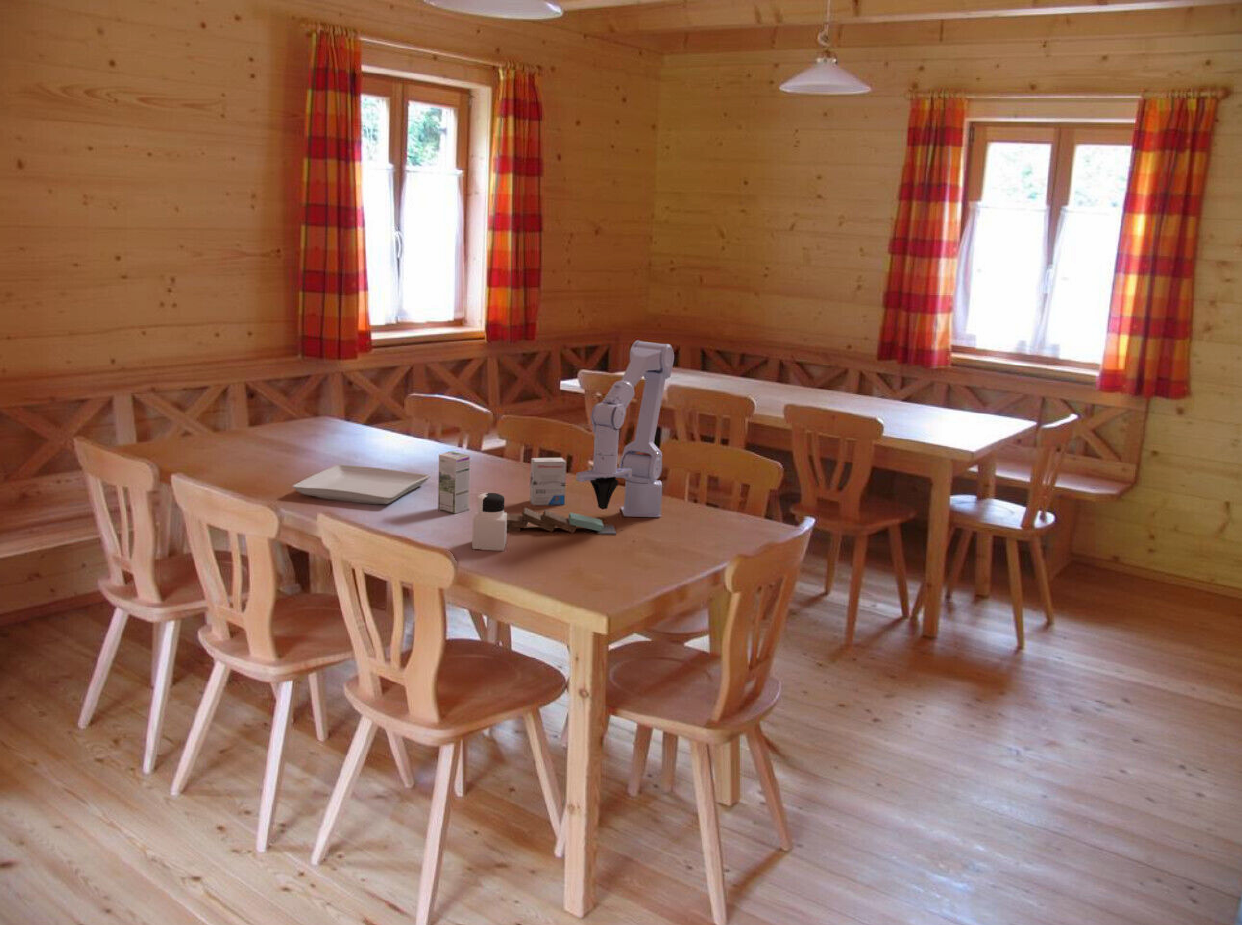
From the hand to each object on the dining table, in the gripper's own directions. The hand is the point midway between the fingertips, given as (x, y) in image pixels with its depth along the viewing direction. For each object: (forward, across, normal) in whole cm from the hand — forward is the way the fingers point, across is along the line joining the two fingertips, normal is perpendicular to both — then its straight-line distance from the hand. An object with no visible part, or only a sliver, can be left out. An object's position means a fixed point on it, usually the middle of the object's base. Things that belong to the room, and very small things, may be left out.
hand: (602, 508), depth 264 cm
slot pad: (+6, -1, 0) cm, 6 cm away
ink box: (+6, 0, -27) cm, 27 cm away
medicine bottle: (+6, +30, +1) cm, 31 cm away
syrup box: (+6, +26, -29) cm, 39 cm away
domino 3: (+5, +10, -5) cm, 13 cm away
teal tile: (+4, 0, 0) cm, 4 cm away
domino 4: (+5, +6, -3) cm, 8 cm away
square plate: (+6, +41, -54) cm, 68 cm away
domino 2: (+6, +18, -9) cm, 21 cm away
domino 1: (+4, +16, -8) cm, 19 cm away
